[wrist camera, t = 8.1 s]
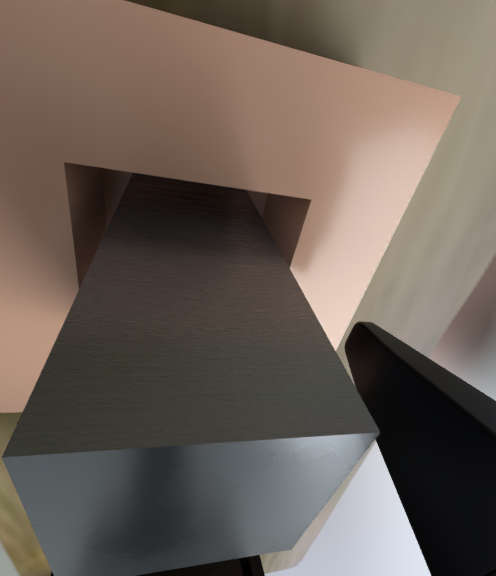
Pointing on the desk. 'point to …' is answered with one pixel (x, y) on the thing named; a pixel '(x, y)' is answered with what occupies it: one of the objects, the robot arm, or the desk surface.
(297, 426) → the grey rectangular block
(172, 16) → the well
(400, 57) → the desk surface
